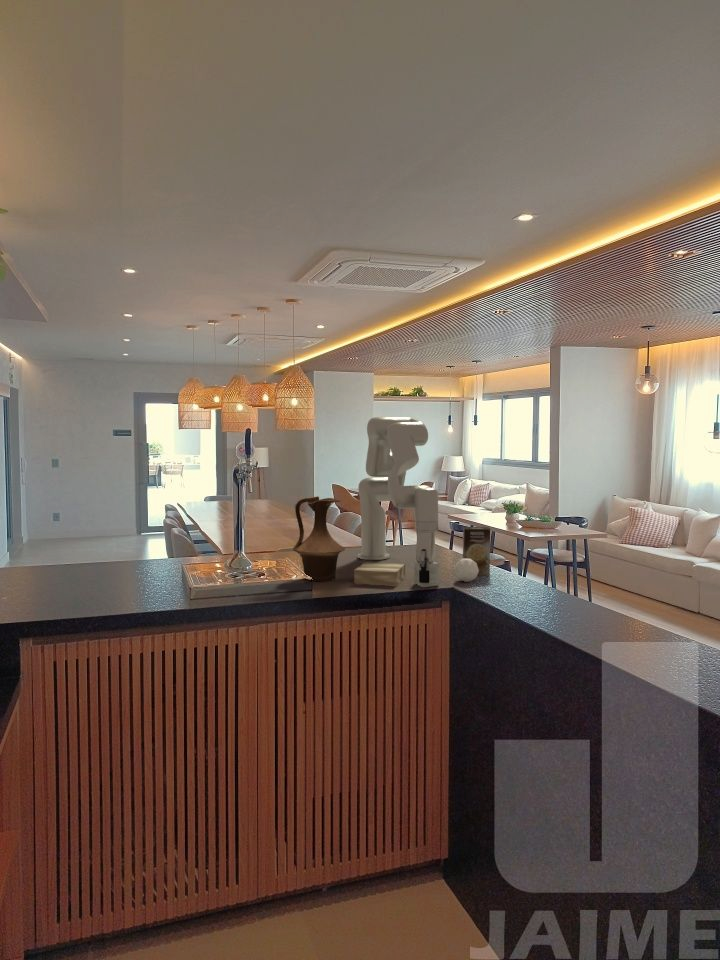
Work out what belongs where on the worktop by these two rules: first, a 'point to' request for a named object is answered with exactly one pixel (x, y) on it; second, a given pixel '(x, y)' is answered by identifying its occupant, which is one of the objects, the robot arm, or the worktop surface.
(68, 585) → the worktop surface
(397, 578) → the birch block
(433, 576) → the product box
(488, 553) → the coffee box
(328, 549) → the pitcher
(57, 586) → the worktop surface
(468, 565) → the geometric ball
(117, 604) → the worktop surface
